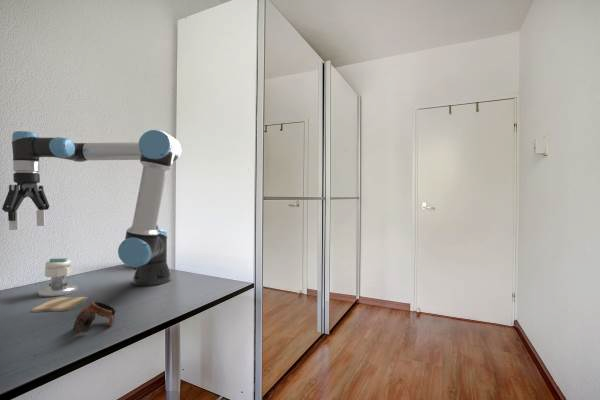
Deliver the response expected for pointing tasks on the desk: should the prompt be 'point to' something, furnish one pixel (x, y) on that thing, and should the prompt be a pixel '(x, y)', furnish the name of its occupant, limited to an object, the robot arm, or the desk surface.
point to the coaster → (60, 304)
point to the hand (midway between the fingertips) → (28, 227)
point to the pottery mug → (93, 315)
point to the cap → (58, 267)
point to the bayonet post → (58, 287)
